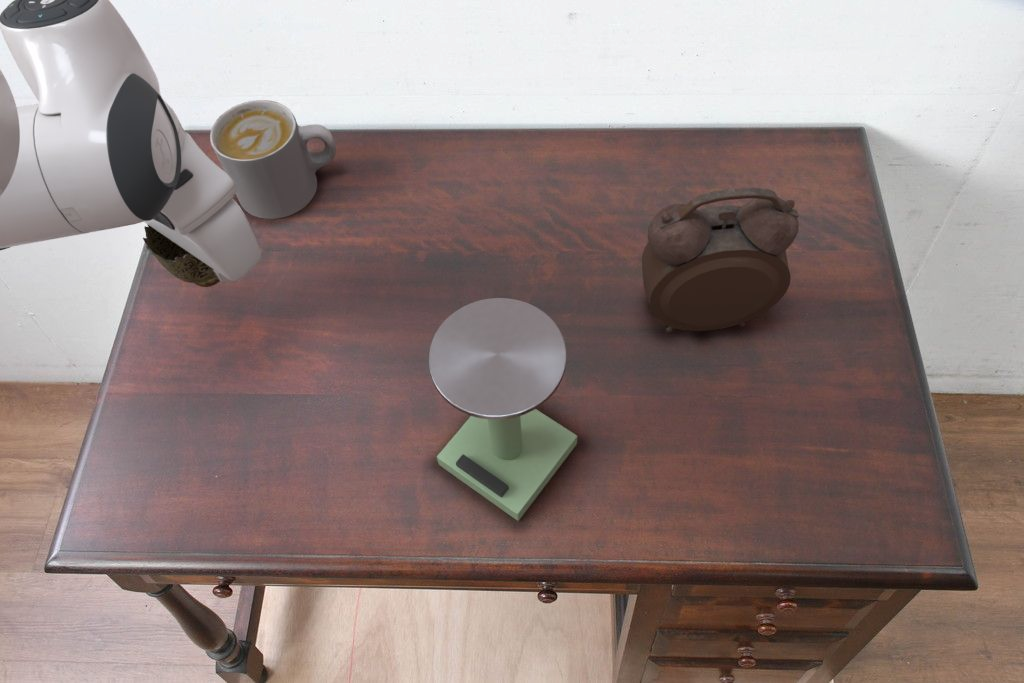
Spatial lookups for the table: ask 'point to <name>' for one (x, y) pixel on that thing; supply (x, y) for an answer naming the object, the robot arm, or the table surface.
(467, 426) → the scale
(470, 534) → the table surface
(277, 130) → the coffee mug
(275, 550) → the table surface
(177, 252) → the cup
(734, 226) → the alarm clock
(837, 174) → the table surface
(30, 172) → the robot arm
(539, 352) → the brushed steel disc
